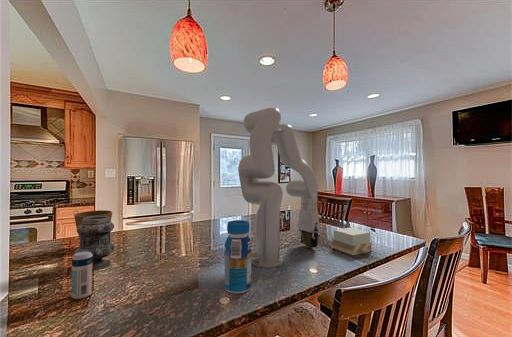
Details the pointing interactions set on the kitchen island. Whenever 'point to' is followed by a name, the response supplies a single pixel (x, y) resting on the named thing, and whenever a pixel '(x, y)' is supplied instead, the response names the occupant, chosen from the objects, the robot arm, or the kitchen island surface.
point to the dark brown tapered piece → (307, 239)
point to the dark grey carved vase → (96, 239)
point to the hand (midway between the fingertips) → (309, 244)
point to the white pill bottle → (81, 275)
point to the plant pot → (82, 215)
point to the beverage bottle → (238, 257)
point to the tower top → (352, 236)
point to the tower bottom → (351, 247)
